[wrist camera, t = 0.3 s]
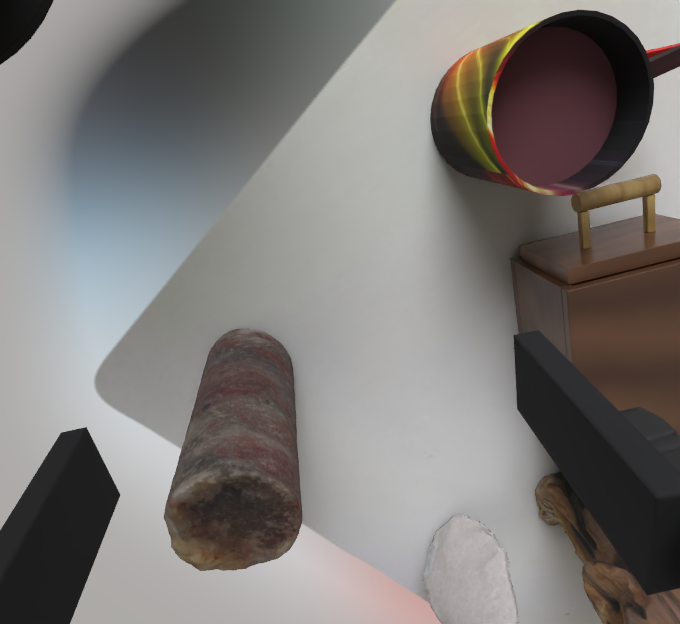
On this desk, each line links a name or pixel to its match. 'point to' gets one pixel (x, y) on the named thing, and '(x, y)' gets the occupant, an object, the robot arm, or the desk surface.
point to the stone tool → (469, 575)
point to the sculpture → (603, 562)
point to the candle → (238, 459)
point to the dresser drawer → (609, 237)
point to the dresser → (612, 331)
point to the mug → (550, 104)
